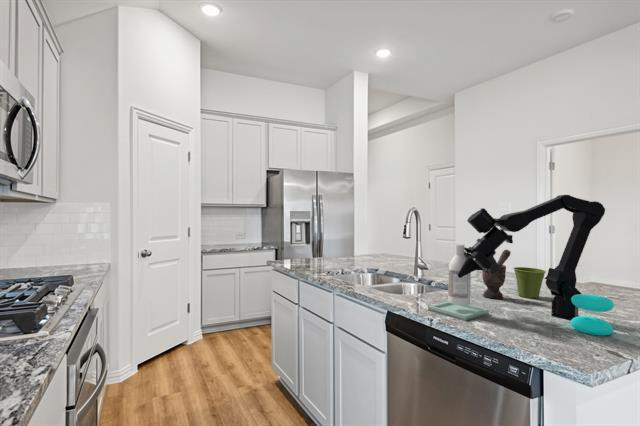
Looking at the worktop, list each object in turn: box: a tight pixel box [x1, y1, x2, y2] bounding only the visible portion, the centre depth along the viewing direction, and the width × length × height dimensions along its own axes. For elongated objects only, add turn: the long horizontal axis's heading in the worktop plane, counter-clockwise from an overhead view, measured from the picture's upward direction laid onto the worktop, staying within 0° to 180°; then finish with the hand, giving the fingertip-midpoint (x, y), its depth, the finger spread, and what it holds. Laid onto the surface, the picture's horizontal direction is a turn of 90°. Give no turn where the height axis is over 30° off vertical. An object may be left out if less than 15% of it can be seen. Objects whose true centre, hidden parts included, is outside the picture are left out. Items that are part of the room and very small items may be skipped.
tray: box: [427, 301, 490, 322], centre depth 122 cm, size 14×14×2 cm
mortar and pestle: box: [481, 249, 512, 300], centre depth 143 cm, size 12×9×20 cm
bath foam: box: [447, 244, 472, 306], centre depth 122 cm, size 7×7×20 cm
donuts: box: [570, 293, 615, 337], centre depth 105 cm, size 10×10×10 cm
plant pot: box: [512, 266, 547, 299], centre depth 147 cm, size 12×12×11 cm
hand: (455, 274), depth 122 cm, fingers closed on bath foam, 7 cm apart
